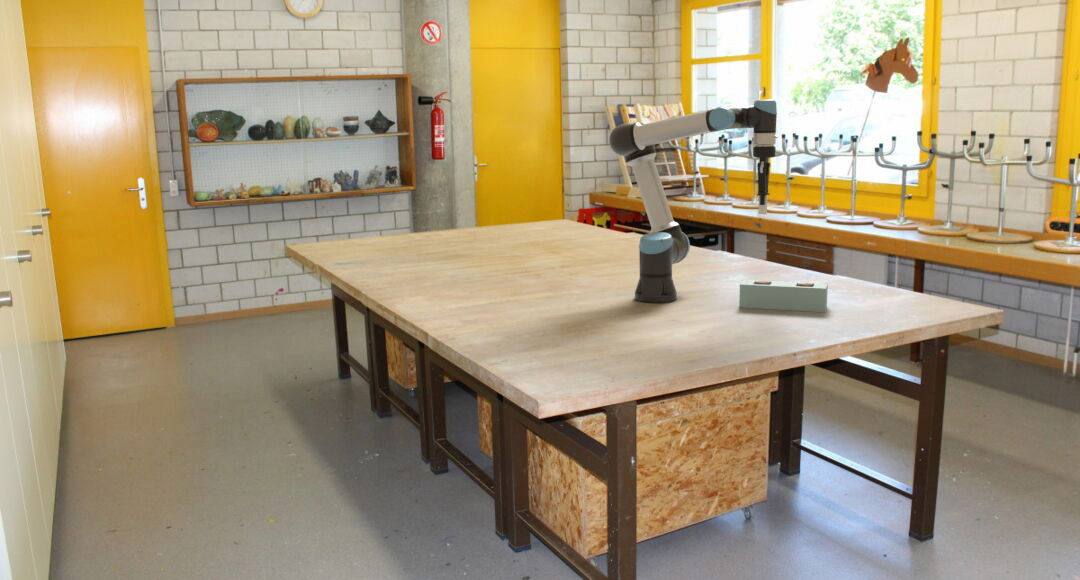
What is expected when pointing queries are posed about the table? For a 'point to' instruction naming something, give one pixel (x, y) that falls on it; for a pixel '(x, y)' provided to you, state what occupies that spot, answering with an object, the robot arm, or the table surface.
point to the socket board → (783, 296)
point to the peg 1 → (763, 282)
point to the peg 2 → (805, 284)
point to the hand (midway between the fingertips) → (762, 213)
